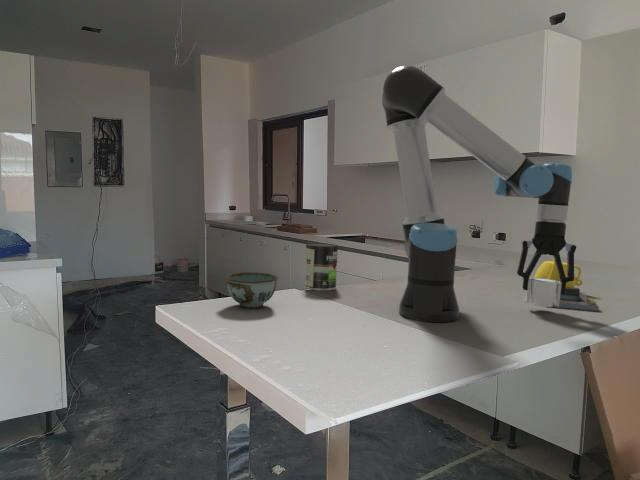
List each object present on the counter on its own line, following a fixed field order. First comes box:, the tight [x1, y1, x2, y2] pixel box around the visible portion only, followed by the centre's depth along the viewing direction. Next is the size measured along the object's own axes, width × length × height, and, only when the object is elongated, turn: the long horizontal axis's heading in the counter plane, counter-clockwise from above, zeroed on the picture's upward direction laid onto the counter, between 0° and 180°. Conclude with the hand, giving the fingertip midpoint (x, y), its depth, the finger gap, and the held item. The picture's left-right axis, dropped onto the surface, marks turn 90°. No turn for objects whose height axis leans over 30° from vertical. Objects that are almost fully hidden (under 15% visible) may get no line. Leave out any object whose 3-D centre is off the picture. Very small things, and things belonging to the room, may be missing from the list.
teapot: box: [533, 257, 583, 288], centre depth 165 cm, size 20×15×12 cm
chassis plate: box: [552, 286, 600, 312], centre depth 147 cm, size 18×14×4 cm
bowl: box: [225, 271, 279, 310], centre depth 127 cm, size 14×13×8 cm
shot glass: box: [530, 277, 558, 308], centre depth 134 cm, size 7×7×7 cm
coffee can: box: [304, 242, 339, 292], centre depth 156 cm, size 10×10×14 cm
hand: (541, 303), depth 134 cm, fingers closed on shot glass, 7 cm apart
